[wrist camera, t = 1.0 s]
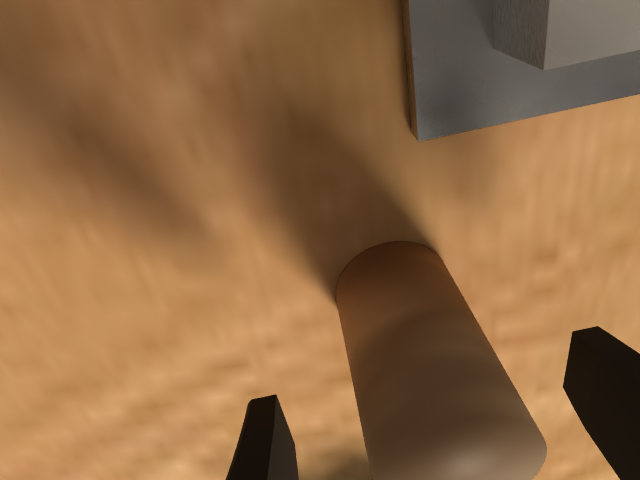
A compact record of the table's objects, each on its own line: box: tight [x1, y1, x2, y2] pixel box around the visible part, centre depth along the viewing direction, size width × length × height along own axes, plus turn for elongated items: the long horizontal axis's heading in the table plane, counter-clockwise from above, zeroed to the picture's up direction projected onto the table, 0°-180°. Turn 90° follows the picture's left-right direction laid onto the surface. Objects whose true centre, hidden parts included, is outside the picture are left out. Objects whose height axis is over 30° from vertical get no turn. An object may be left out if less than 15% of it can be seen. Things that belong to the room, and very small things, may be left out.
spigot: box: [336, 241, 547, 480], centre depth 12 cm, size 4×4×6 cm
